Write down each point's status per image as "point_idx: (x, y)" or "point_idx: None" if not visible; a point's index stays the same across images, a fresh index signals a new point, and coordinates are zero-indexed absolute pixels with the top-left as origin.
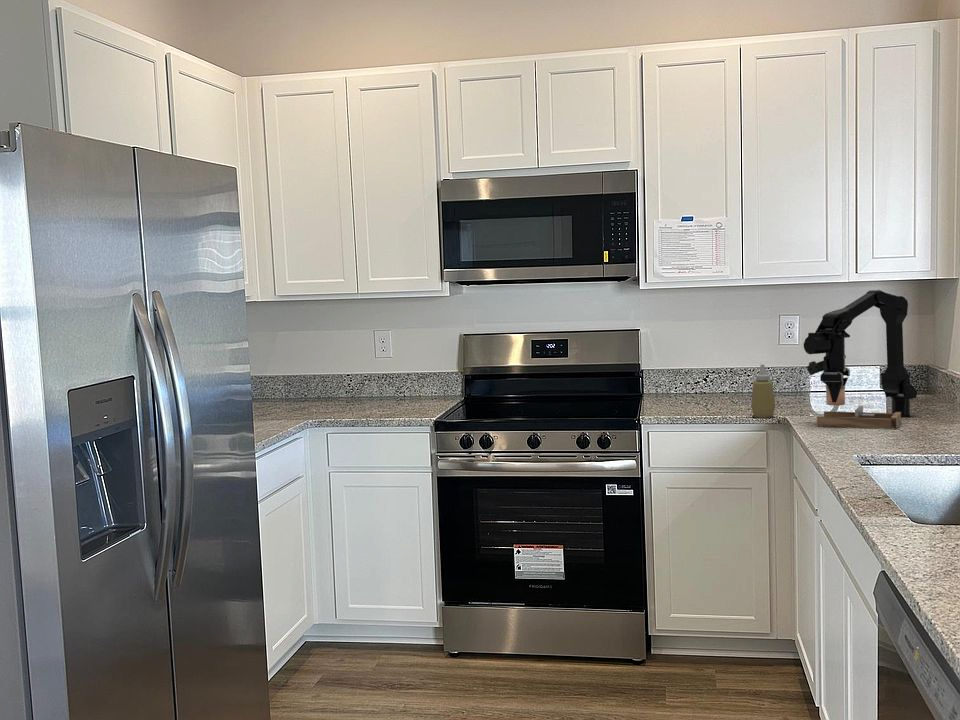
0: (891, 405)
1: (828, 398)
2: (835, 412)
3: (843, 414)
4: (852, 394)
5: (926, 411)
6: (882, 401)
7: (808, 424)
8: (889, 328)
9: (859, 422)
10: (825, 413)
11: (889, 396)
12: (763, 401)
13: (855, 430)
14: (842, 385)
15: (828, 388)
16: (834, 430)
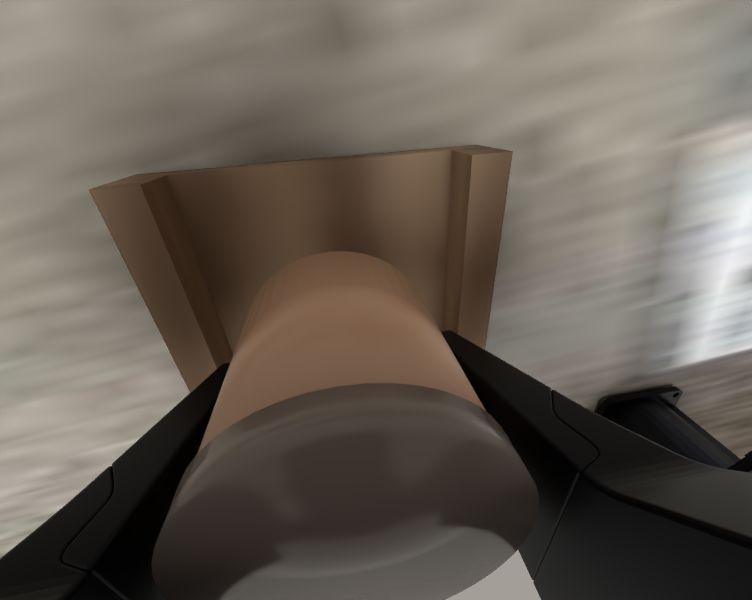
0: (675, 434)
1: (241, 339)
2: (463, 250)
3: (454, 295)
4: None
5: (737, 437)
6: None
7: (211, 65)
8: None
9: None
10: (466, 167)
11: (732, 469)
12: None
13: (134, 408)
14: (414, 597)
15: (183, 481)
16: (43, 329)
